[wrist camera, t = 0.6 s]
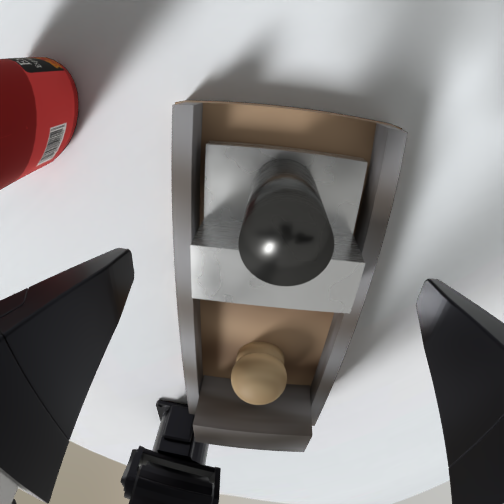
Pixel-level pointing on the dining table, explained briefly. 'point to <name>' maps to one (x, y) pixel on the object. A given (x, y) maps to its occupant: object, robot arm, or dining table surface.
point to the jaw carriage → (279, 228)
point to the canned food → (34, 114)
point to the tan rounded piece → (259, 373)
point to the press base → (261, 317)
